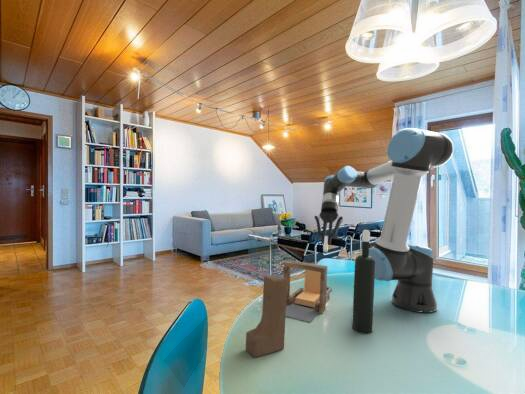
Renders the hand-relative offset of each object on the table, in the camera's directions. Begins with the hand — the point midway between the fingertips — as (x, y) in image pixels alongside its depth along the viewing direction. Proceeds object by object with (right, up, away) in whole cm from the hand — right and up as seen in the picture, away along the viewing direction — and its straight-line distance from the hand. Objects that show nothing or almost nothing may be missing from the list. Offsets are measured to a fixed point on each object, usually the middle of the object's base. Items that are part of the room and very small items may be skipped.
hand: (325, 250), depth 122 cm
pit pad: (-2, -17, -1) cm, 17 cm away
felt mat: (-15, -16, -26) cm, 34 cm away
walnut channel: (-10, -16, -16) cm, 25 cm away
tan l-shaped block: (-9, -16, -15) cm, 24 cm away
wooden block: (-26, -16, -50) cm, 59 cm away
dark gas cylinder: (+3, -17, -36) cm, 40 cm away
